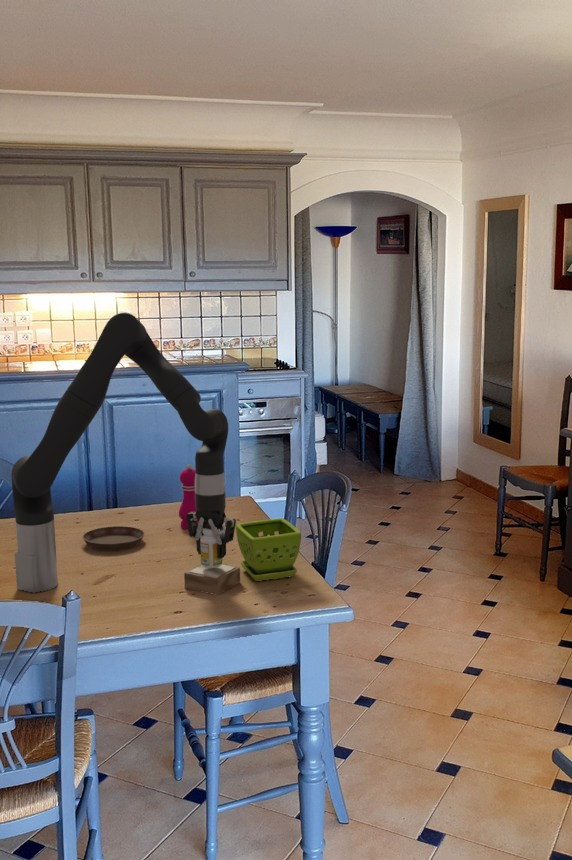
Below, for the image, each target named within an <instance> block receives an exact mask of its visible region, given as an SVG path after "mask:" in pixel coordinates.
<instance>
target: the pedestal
mask: <svg viewBox="0 0 572 860" xmlns="http://www.w3.org/2000/svg"><path fill="white" fill-rule="evenodd" d="M183 575H184V589H187V588H189V589H188V590H191V589H194V590H193V591H196V590H198V591H197V592H200V591H203V592H202V593H205V592H208V593H207V594H209V593H213V594H212V595H214V594H219V593H221V592H223V591H224V592H226V591H228V590H230V589H231V588H233V587H235V586H237V585H238V584H240V583H241V567H240V566H239V567H238V566H234V565H228V564H224V563H222V565H221V566H219V567H216V568H206V567H203V566H202V565H201V564H200V565H199V564H198V565H197V566H195V567H193V568H192V569H189V570H187V571H185V572H184V573H183ZM239 582H240V583H239ZM236 584H237V585H236ZM234 585H235V586H234ZM230 587H231V588H230ZM229 588H230V589H229ZM227 589H228V590H227ZM225 590H226V591H225ZM224 592H223V593H224ZM221 594H222V593H221ZM219 595H220V594H219Z"/></svg>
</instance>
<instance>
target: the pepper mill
mask: <svg viewBox="0 0 572 860" xmlns="http://www.w3.org/2000/svg"><path fill="white" fill-rule="evenodd" d="M195 473H196V472H195V468H193V465H192V464H190V463H189V464H186V468H185V469H183V470H182V471H181V472H180V474H179V481H180V483H181V490H182V493H183V498H182V501H181V504H180V506H179V511H178V517H179V518H180V520H181V521H180V529H183V530H186V531H189V530H188V525H187V519H186V514H188V513H191V512H195V513H196V511H197V509H196V508H195ZM197 525H199V522H198V520H197Z"/></svg>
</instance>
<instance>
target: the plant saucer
mask: <svg viewBox="0 0 572 860" xmlns="http://www.w3.org/2000/svg"><path fill="white" fill-rule="evenodd" d="M144 537H145V531H144V530H142V529H140V528H137V527H132V526H122V525H121V526H120V525H119V526H115V525H114V526H105V527H99V528H95V529H91V530H88V531H86V532H85V533H84V534H83V535H82V539H83V541H84V542H85V544H87V546H88V547H90V548H92V549H94V550H96V551H97V550H98V551H105V552H114V551H115V552H116V551H124V550H127V549H130V548H134V547H136V546H138V544H140V542H141V541H142V539H143V538H144Z"/></svg>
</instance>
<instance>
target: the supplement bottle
mask: <svg viewBox="0 0 572 860" xmlns="http://www.w3.org/2000/svg"><path fill="white" fill-rule="evenodd" d="M218 531H220V529H218ZM203 534H204V535H203V536H202V537H201V539H200V545H201V555H200V565H202V566H203V567H206V568H216V567H219V566H221V565H222V564H223V558H221V559H219V558H218V554H217V544H218V542H217V539H216V536H214V534H213V531H212V529H206V528H203Z"/></svg>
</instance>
